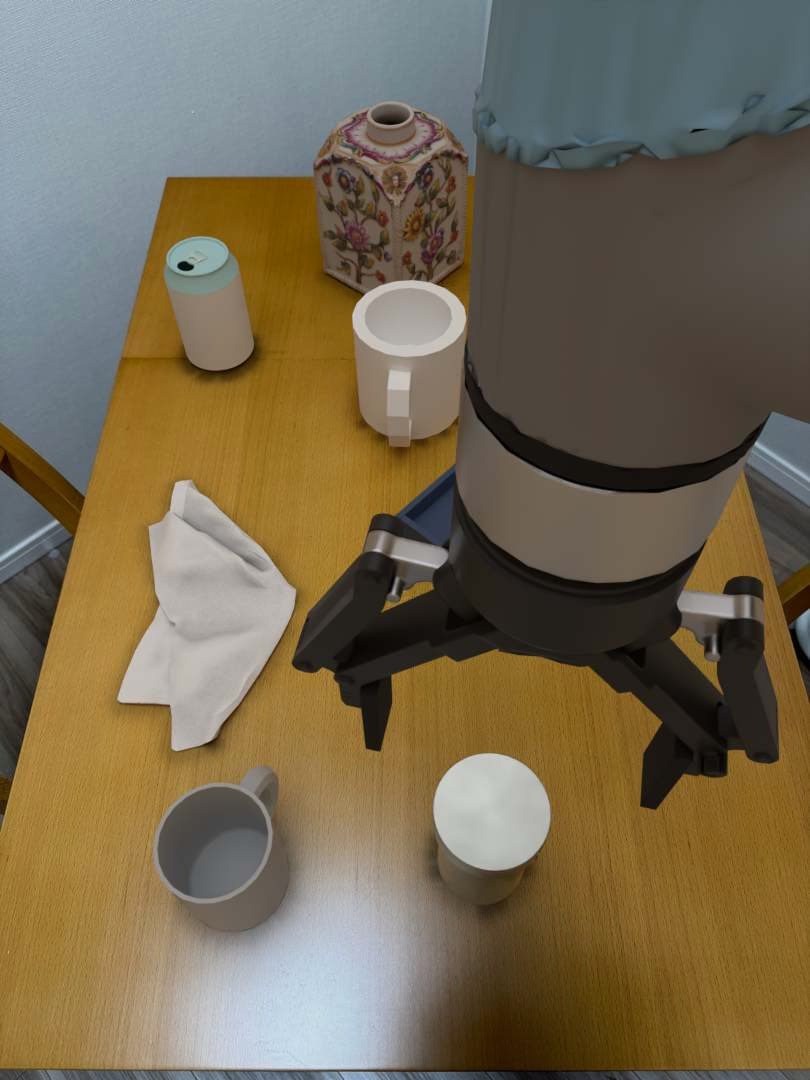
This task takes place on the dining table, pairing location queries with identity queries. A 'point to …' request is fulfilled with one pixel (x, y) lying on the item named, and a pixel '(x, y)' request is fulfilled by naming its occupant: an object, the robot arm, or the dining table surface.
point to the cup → (225, 851)
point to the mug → (409, 359)
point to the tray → (430, 512)
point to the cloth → (205, 618)
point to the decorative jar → (391, 197)
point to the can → (209, 303)
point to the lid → (491, 815)
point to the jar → (475, 883)
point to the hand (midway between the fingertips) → (511, 753)
